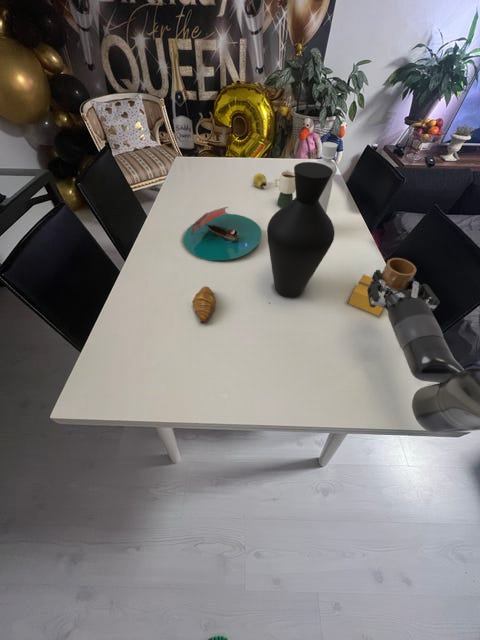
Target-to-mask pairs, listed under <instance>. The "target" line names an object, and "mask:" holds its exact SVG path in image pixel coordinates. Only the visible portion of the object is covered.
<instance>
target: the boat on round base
mask: <svg viewBox="0 0 480 640" xmlns="http://www.w3.org/2000/svg"><path fill="white" fill-rule="evenodd" d="M226 209H229V206H225V207H221V208H217V209H213V210H211V211H209V212H206V213H205V214H203V215H202V216H201V217H199V218H198V219H197V220H196V221H195V222H194V223H193V224H191V225H190V226H189V227H188V228H187V230H186V231H185V232H184V233H185V234H184V236H183V239H182V240H183V241H182V242H183V245H184V247H185V249H186V250H187V251H188V252H189V253H190V254H192V255H194V256H196V257H197V258H200V259H202V260H203V259H204V260H209V261H226V260H233V259H237V258H241V257H242V256H245V255H246V254H249V253H250V252H251V251H252V250H254V249H255V248H256V247H257V246H258V245H259V243H260V242H261V239H262V236H263V235H262V234H263V233H262V232H263V231H262V229H261V227H260V226H259V224H258V223H257V222H256V221H254V220H253V219H251V218H249V217H247V216H245V215H240V214H235V213H229V212H226Z"/></svg>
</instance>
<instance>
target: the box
mask: <svg viewBox="0 0 480 640" xmlns="http://www.w3.org/2000/svg"><path fill="white" fill-rule="evenodd" d="M371 281H373V279H372V276H370V275H367V274H365V273H364V274H363V275H362V276H361V278H360V279H359V280H358V282H357V285H356V286H355V288H354V290H353V291H352V294H351V296H350V299H349V301H348V304H349V305H352V306H354V307H356V308H358V309H361V310H363V311H366V312H367V313H370V314H372V315H375V316H376V317H379V316H380V315H381V313H382V311H383V309H384V308H383V307H380V306H378V305H376V306H375V307H371V306H370V304H369V298H368V292H367V289H368V288H369V286H370V283H371Z"/></svg>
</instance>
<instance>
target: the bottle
mask: <svg viewBox="0 0 480 640" xmlns="http://www.w3.org/2000/svg"><path fill="white" fill-rule="evenodd" d="M337 148H338V144H337V143H335V142H333V141H332V142H331V141H324V142H322V145H321V152H320V157H321V159H318V160H315V163H321V164H324V165H326V166H328V167H330V168H331V169H332V171H333V173H332V175H331V177H330V179H329V181H328V183H327V185H326V187H325V189H324V191H323V193H322V195H321V197H320V198H319V200H318V201H319V203H320V204H321V206H322V208H323V209H324V211H325V212H326V213H327V211H328V206H329V202H330V197H331V193H332V188H333V178H334V177H335V176H336V174H337V172H338V171H337V164H336V162H335V161H333V159H334V158H335V155H336V152H337Z"/></svg>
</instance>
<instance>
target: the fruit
mask: <svg viewBox="0 0 480 640" xmlns="http://www.w3.org/2000/svg"><path fill="white" fill-rule="evenodd" d="M252 184H253V186H254V187H256V188H259V189H265V190H268V188H267V185H268V182H267V178H266V175H265V174H263V173H261V172H257V173H255V174H254V175H253V177H252Z"/></svg>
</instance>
